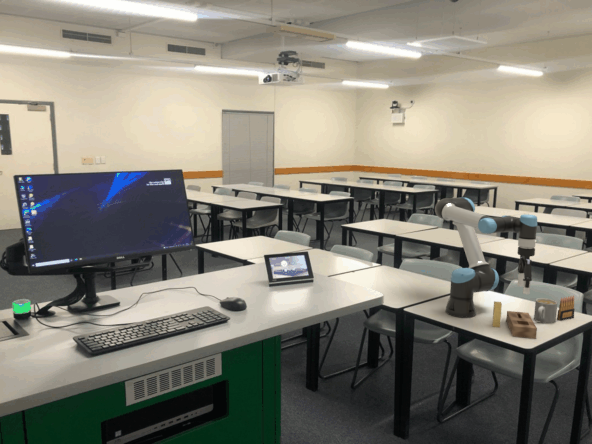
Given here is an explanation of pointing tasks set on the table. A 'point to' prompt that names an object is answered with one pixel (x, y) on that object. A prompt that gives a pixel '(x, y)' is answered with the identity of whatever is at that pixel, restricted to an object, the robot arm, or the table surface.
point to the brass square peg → (496, 314)
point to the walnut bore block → (521, 324)
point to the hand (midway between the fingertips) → (523, 290)
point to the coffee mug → (545, 310)
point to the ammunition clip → (566, 308)
